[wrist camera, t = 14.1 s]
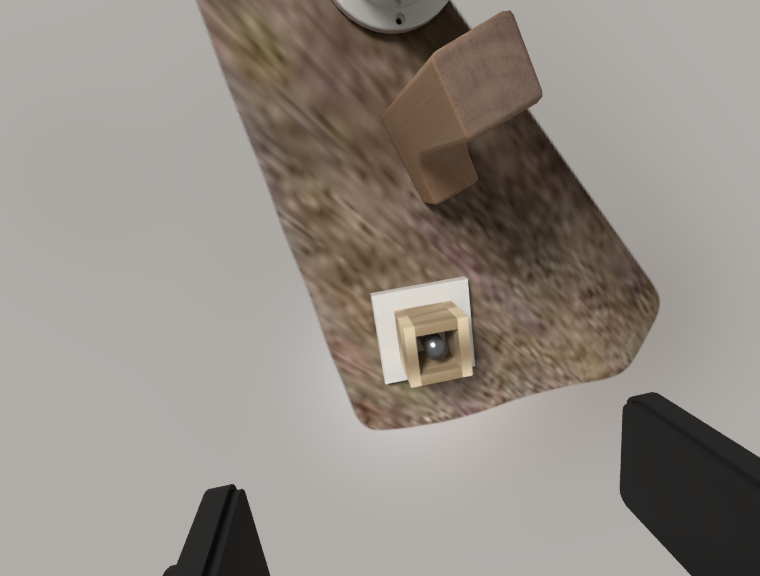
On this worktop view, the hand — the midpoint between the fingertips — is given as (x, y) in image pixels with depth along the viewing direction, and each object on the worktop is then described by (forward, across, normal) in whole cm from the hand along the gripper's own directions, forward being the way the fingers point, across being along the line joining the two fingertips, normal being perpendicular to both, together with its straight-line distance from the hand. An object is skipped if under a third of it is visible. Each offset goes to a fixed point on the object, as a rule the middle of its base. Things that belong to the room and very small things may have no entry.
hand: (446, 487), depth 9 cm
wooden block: (+31, -8, -9) cm, 33 cm away
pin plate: (+30, -6, +9) cm, 32 cm away
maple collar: (+29, -6, +9) cm, 31 cm away
